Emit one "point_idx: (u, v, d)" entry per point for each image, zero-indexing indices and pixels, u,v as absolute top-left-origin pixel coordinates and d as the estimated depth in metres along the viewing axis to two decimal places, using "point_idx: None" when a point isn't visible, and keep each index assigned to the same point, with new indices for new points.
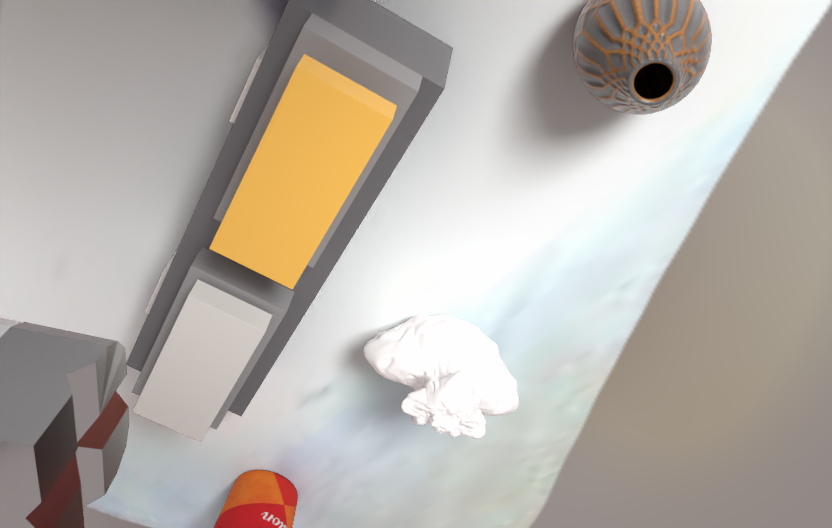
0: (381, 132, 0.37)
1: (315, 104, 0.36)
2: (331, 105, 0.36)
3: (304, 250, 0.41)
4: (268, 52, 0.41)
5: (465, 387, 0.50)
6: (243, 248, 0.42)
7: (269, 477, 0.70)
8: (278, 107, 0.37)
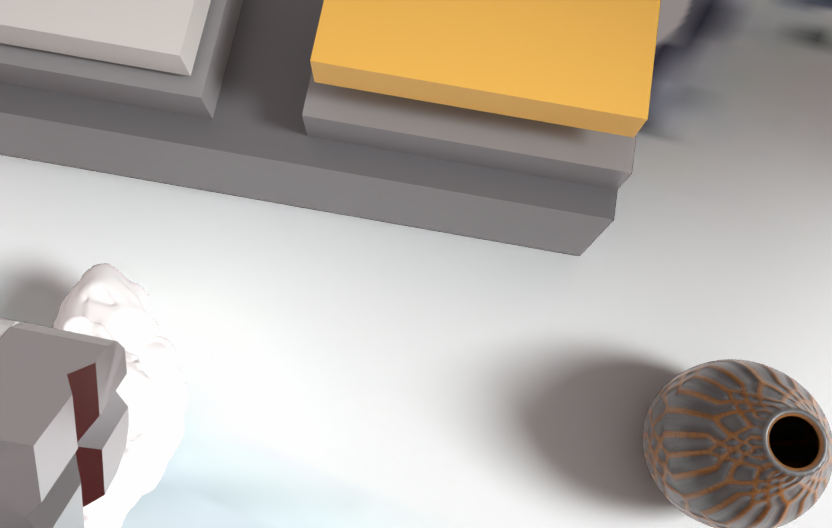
0: (623, 111, 0.27)
1: (623, 25, 0.28)
2: (631, 44, 0.28)
3: (391, 61, 0.27)
4: None
5: (150, 416, 0.27)
6: None
7: None
8: None
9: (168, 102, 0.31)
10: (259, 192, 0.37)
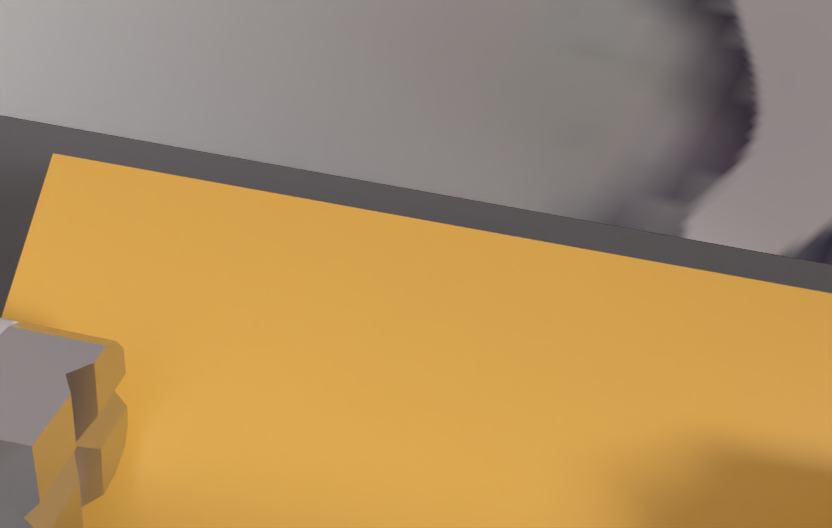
0: None
1: None
2: None
3: None
4: (683, 244, 0.14)
5: None
6: (103, 297, 0.09)
7: None
8: None
9: None
10: None
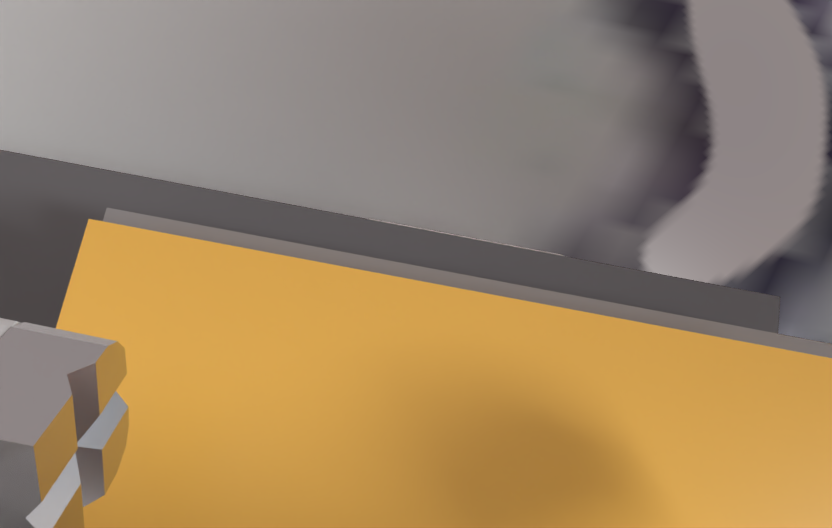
0: None
1: (782, 452, 0.11)
2: (804, 504, 0.11)
3: None
4: (631, 274, 0.16)
5: None
6: (130, 337, 0.11)
7: None
8: (718, 341, 0.12)
9: None
10: None
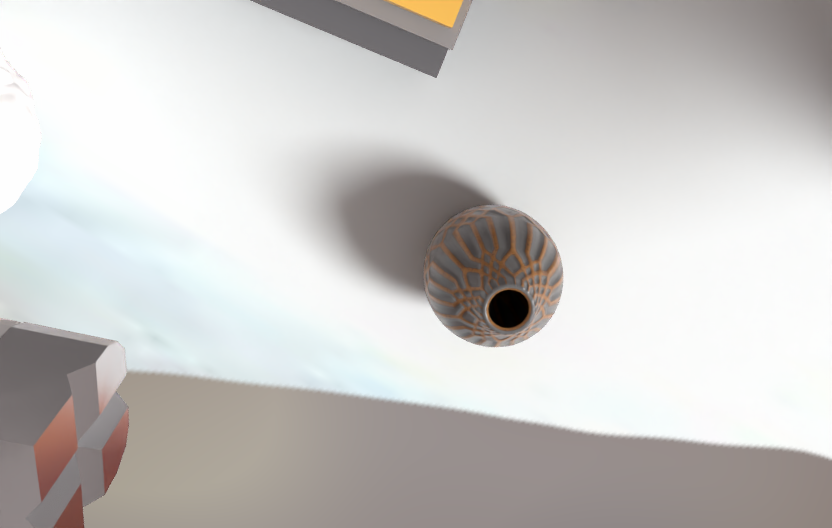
0: (432, 15, 0.30)
1: None
2: None
3: None
4: None
5: None
6: None
7: None
8: None
9: None
10: None
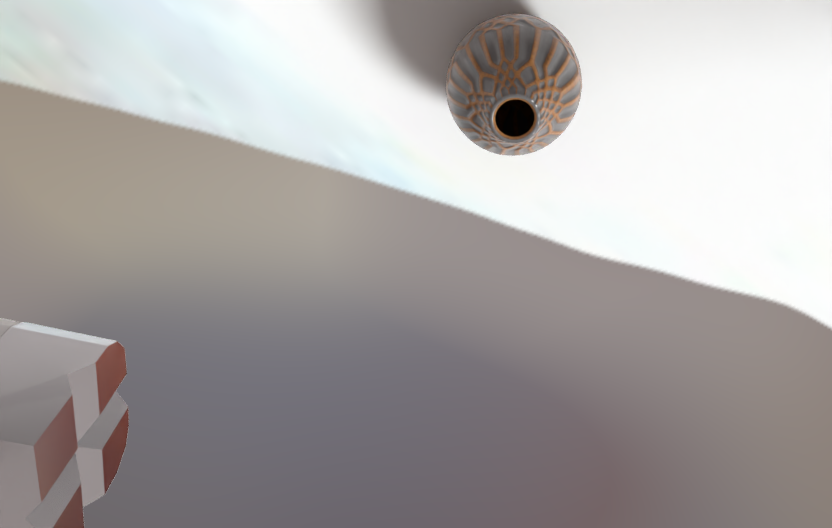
0: None
1: None
2: None
3: None
4: None
5: None
6: None
7: None
8: None
9: None
10: None
